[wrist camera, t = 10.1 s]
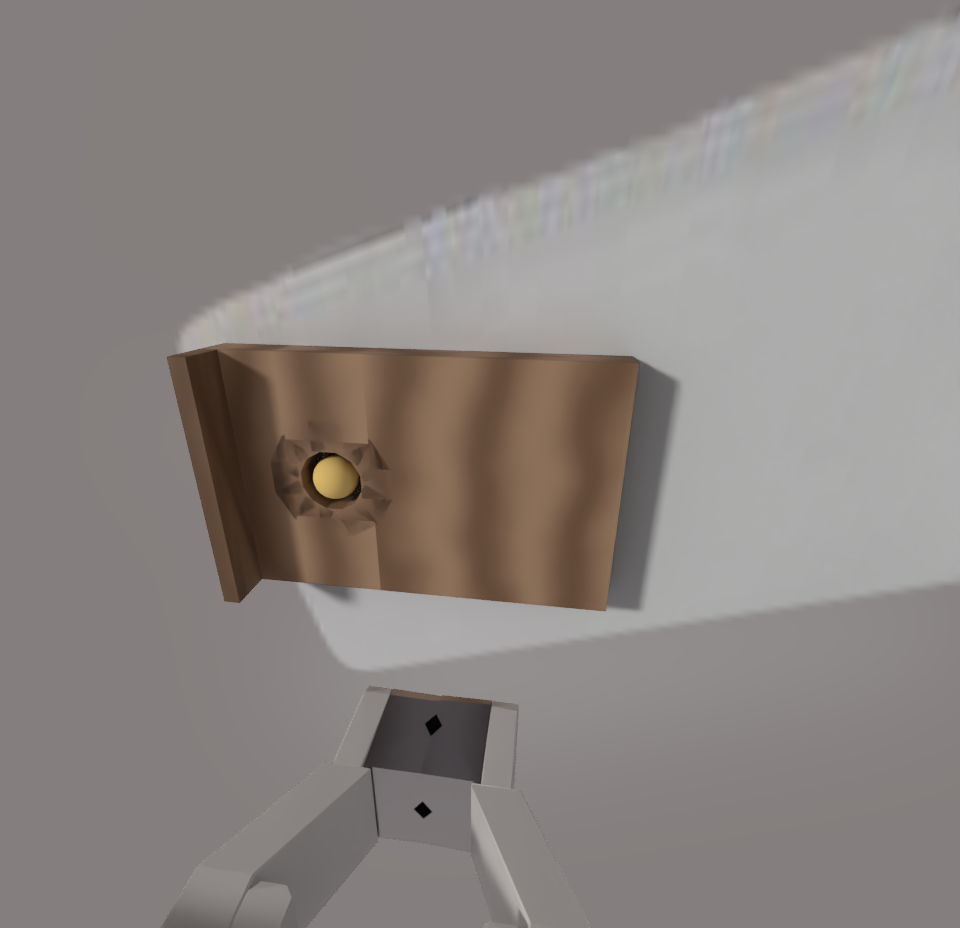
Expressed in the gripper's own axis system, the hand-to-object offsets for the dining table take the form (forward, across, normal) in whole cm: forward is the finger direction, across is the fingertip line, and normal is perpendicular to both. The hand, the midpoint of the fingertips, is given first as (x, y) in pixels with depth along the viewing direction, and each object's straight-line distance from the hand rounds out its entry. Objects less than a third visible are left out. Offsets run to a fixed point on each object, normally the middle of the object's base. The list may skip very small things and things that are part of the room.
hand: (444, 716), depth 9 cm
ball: (+24, +13, +6) cm, 28 cm away
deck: (+25, +7, +6) cm, 27 cm away
